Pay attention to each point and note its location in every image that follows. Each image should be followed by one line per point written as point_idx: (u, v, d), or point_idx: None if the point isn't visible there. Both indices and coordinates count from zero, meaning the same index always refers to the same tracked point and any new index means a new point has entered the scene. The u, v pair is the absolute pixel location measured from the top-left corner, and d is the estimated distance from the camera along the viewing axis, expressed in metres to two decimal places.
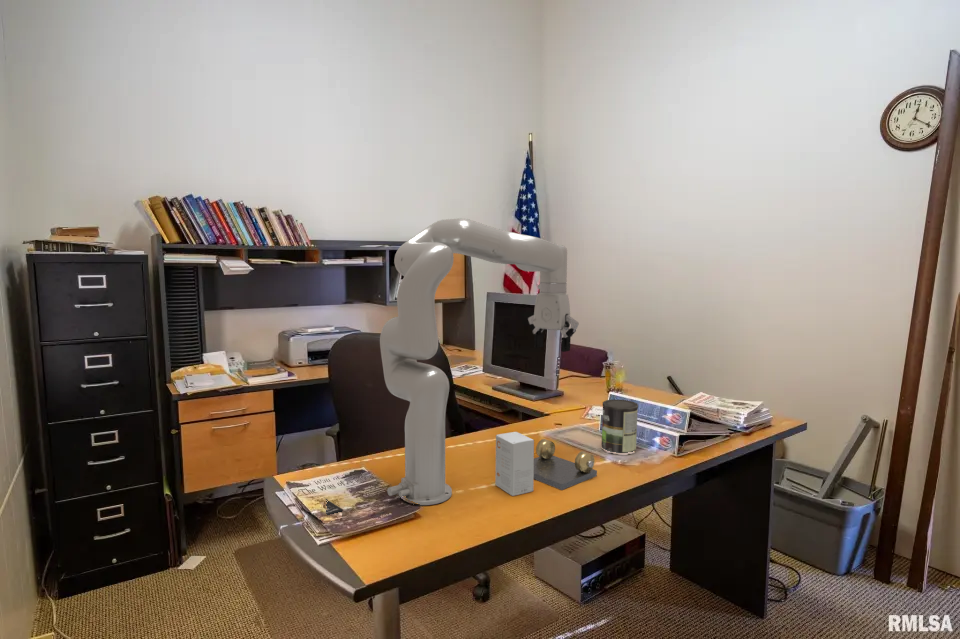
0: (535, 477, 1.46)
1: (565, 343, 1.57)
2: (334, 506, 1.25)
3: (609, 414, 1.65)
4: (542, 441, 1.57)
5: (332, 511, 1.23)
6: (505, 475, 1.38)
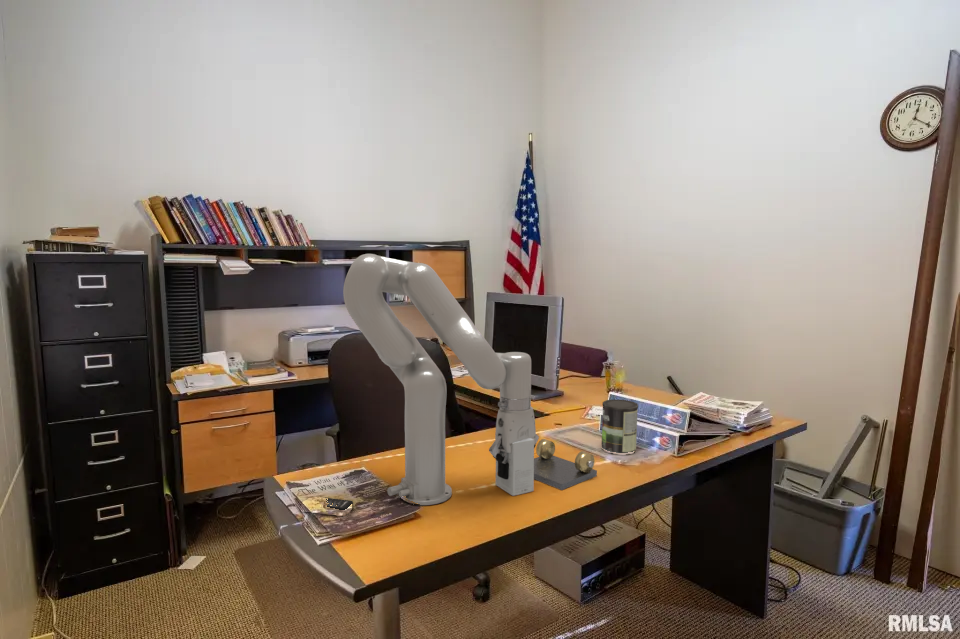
0: (535, 477, 1.46)
1: None
2: (341, 500, 1.28)
3: (609, 414, 1.65)
4: (542, 441, 1.57)
5: (345, 504, 1.26)
6: None
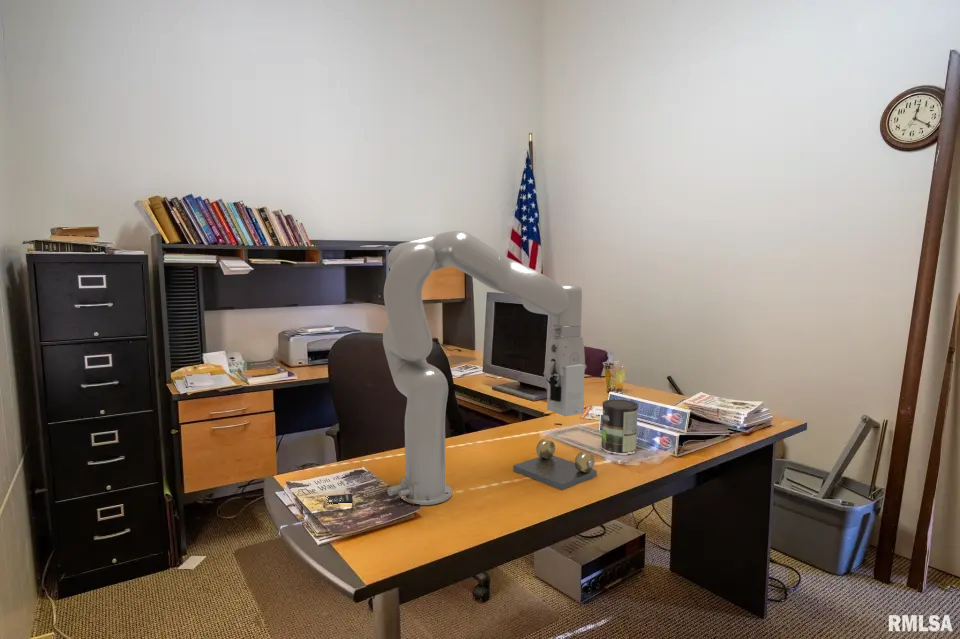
0: (535, 477, 1.46)
1: None
2: (340, 495, 1.31)
3: (609, 414, 1.65)
4: (542, 441, 1.57)
5: (348, 497, 1.30)
6: None
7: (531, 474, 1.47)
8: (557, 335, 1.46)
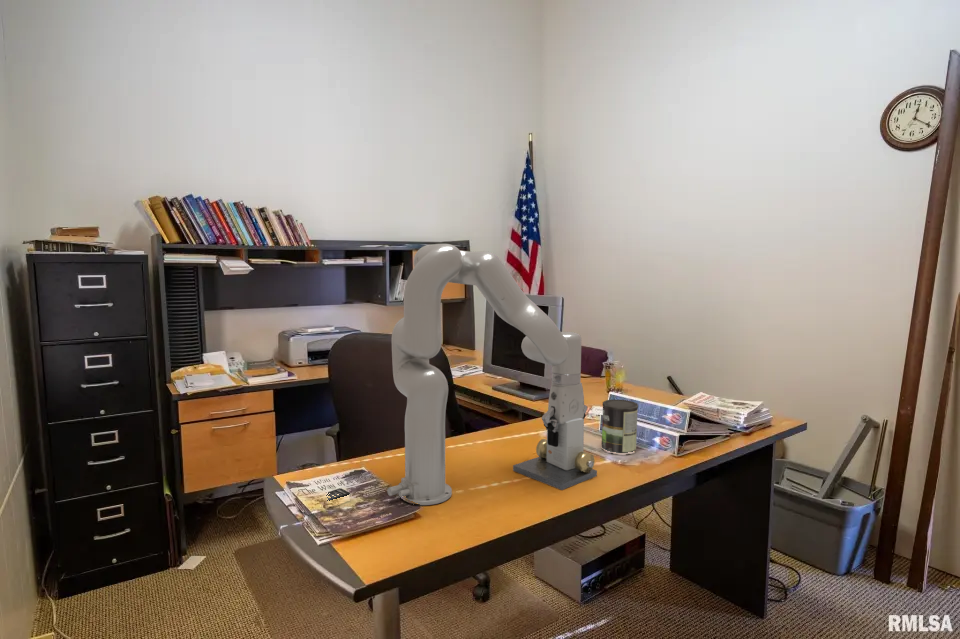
0: (535, 477, 1.46)
1: None
2: (331, 491, 1.33)
3: (609, 414, 1.65)
4: (542, 441, 1.57)
5: (342, 491, 1.34)
6: (558, 452, 1.50)
7: (531, 474, 1.47)
8: (557, 383, 1.48)
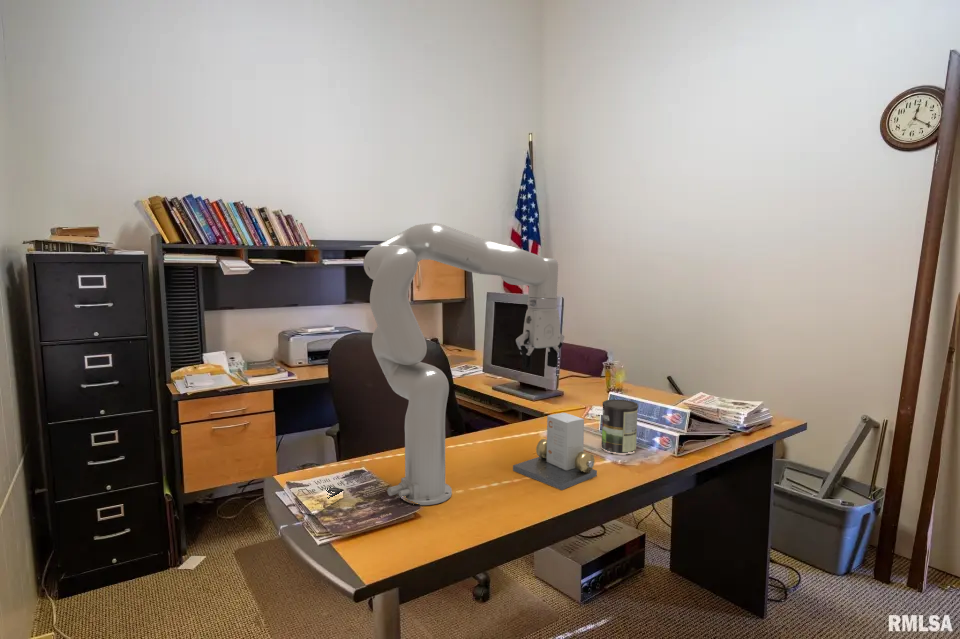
0: (535, 477, 1.46)
1: None
2: None
3: (609, 414, 1.65)
4: (542, 441, 1.57)
5: (334, 488, 1.35)
6: (558, 452, 1.50)
7: (531, 474, 1.47)
8: (532, 307, 1.48)
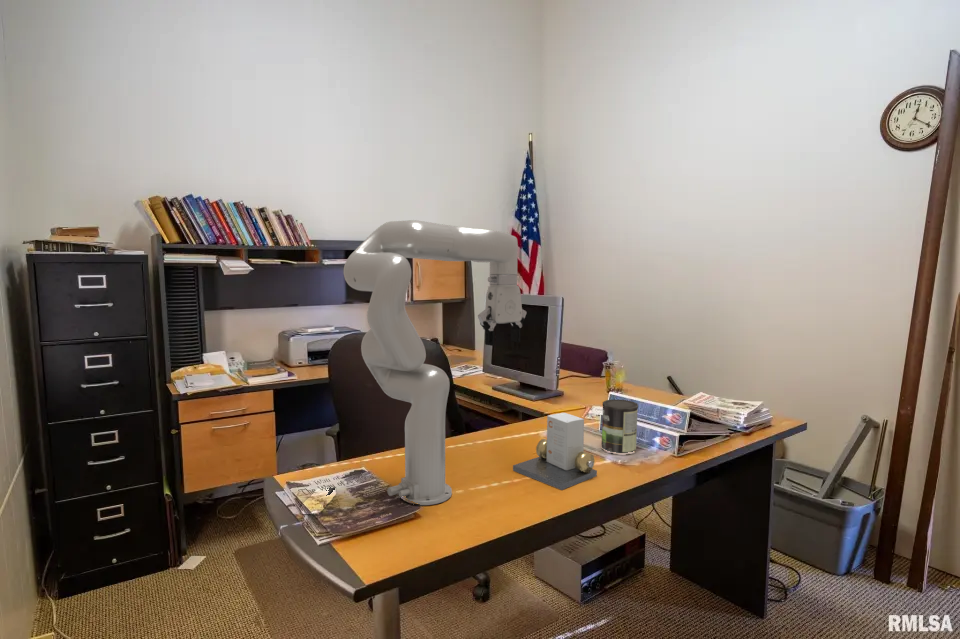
0: (535, 477, 1.46)
1: None
2: None
3: (609, 414, 1.65)
4: (542, 441, 1.57)
5: None
6: (558, 452, 1.50)
7: (531, 474, 1.47)
8: (493, 283, 1.52)
